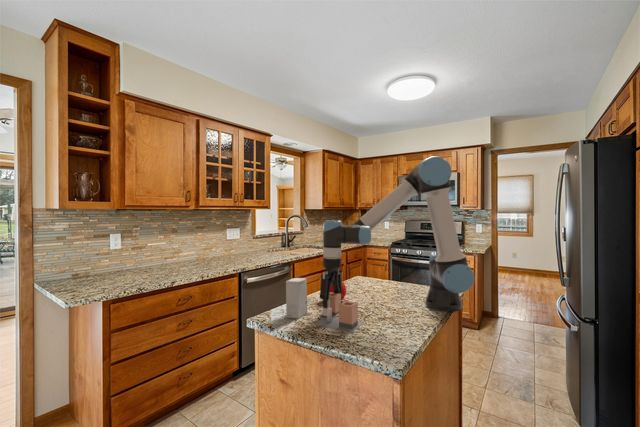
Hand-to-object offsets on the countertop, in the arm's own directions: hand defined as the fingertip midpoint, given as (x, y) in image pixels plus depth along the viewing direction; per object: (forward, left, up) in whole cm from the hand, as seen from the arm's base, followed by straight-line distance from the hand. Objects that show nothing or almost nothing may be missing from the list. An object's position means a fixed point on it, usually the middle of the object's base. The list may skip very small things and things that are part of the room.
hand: (331, 312), depth 127 cm
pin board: (-8, +9, -1) cm, 12 cm away
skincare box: (+12, +8, -1) cm, 14 cm away
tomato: (+8, -17, -1) cm, 19 cm away
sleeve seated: (-12, +9, 0) cm, 15 cm away
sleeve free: (0, -1, -1) cm, 1 cm away
